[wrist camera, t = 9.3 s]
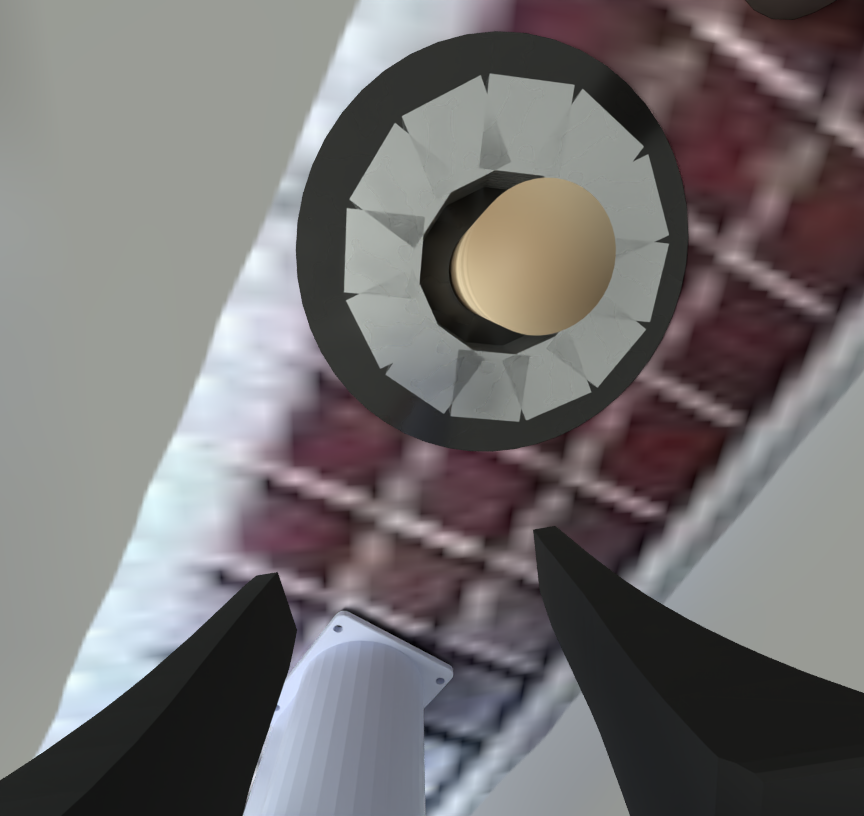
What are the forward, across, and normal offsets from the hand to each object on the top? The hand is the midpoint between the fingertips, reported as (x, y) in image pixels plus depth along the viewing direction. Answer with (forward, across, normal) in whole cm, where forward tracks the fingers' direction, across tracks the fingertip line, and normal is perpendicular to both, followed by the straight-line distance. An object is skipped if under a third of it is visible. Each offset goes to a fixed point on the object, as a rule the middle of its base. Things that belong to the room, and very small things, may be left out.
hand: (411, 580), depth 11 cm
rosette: (+9, -5, -8) cm, 13 cm away
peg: (+9, -5, -8) cm, 13 cm away
